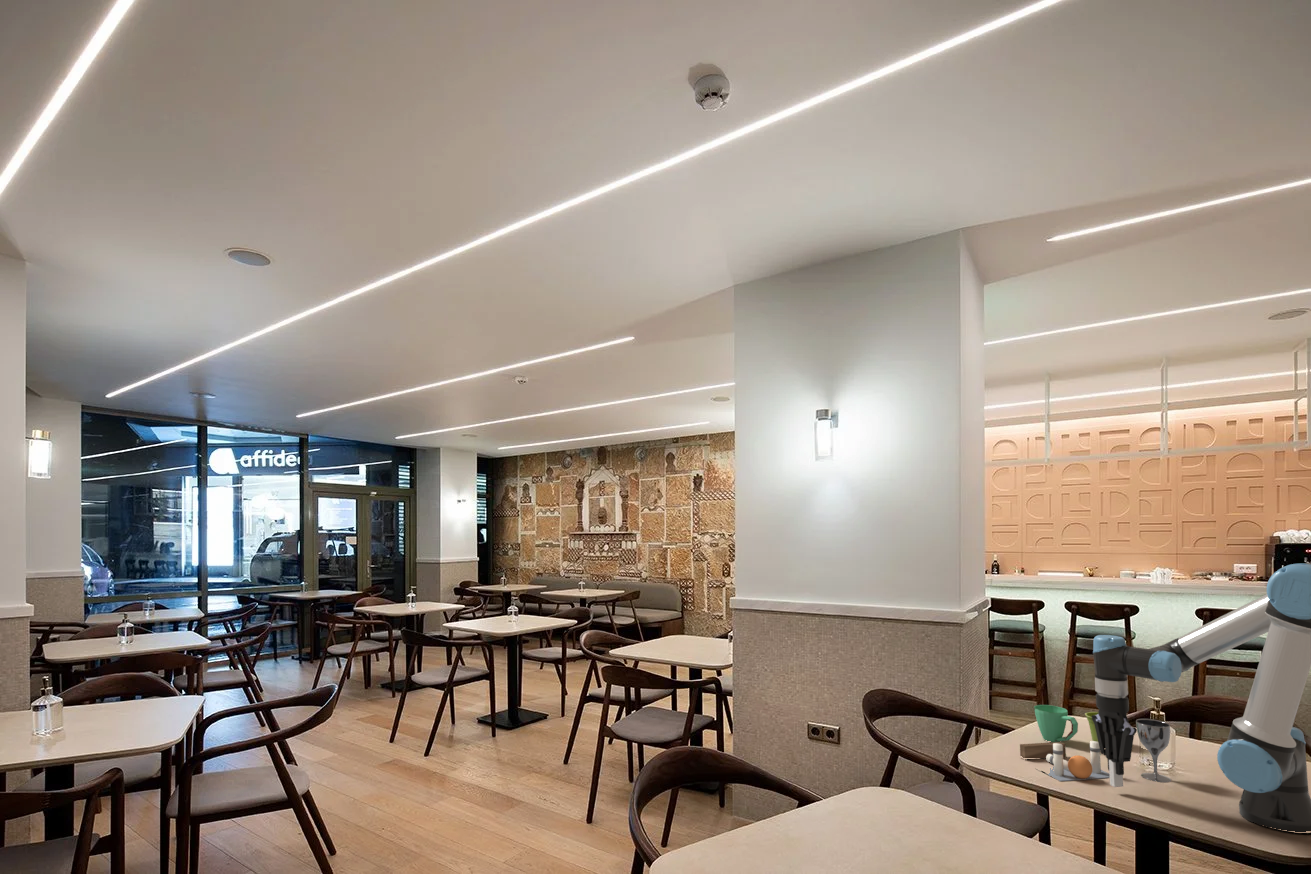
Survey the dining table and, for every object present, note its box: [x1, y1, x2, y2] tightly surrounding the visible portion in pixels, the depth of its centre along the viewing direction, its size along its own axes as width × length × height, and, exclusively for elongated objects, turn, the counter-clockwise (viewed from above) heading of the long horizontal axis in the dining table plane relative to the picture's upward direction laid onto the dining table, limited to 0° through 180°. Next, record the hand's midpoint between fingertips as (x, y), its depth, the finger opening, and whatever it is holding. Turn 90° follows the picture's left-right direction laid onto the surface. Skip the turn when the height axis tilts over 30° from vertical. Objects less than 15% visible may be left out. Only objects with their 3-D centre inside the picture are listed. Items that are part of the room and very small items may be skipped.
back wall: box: [1019, 741, 1067, 759], centre depth 221 cm, size 2×14×4 cm, turn 100°
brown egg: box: [1067, 754, 1092, 779], centre depth 205 cm, size 6×6×6 cm
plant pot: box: [1084, 711, 1098, 742], centre depth 236 cm, size 9×9×9 cm
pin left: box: [1053, 743, 1064, 776], centre depth 207 cm, size 2×2×8 cm
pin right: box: [1089, 740, 1102, 774], centre depth 209 cm, size 2×2×8 cm
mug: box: [1033, 704, 1079, 742], centre depth 236 cm, size 15×10×10 cm
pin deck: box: [1047, 766, 1110, 782], centre depth 208 cm, size 10×18×1 cm, turn 100°
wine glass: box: [1135, 718, 1172, 783], centre depth 206 cm, size 8×8×15 cm
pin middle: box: [1045, 754, 1069, 771], centre depth 213 cm, size 2×2×8 cm
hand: (1116, 785), depth 194 cm, fingers closed
